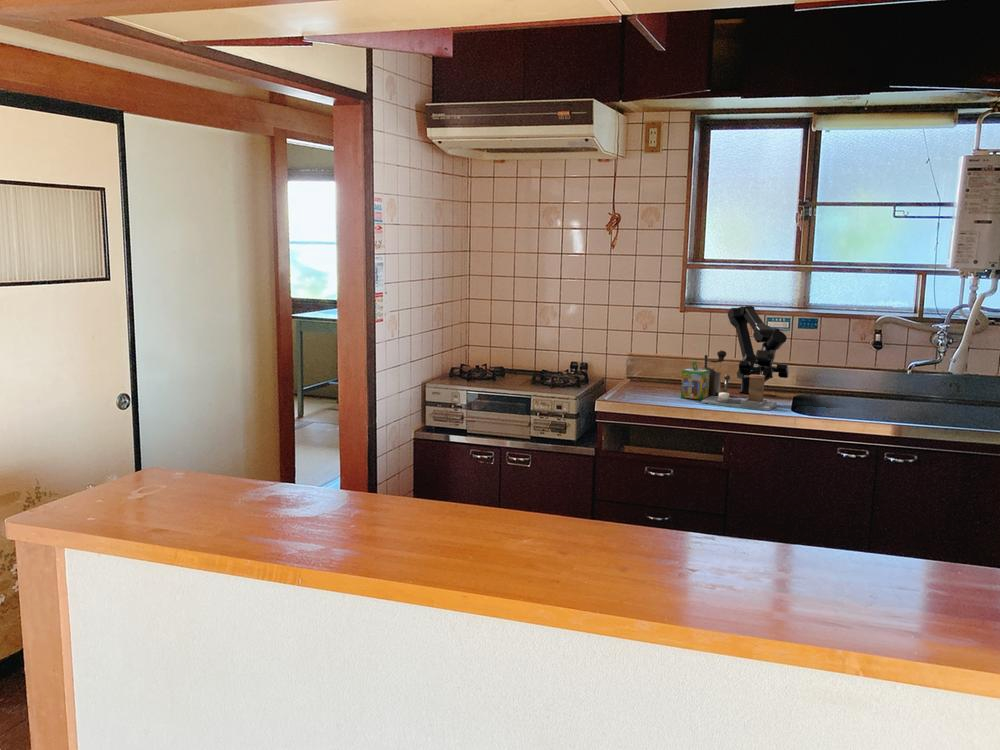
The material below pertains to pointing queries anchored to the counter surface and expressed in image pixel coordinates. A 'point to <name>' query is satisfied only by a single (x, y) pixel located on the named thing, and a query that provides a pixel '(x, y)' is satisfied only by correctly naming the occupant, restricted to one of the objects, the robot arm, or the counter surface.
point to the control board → (708, 400)
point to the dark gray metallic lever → (726, 383)
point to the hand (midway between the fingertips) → (759, 385)
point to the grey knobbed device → (714, 374)
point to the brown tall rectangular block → (756, 388)
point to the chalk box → (695, 383)
